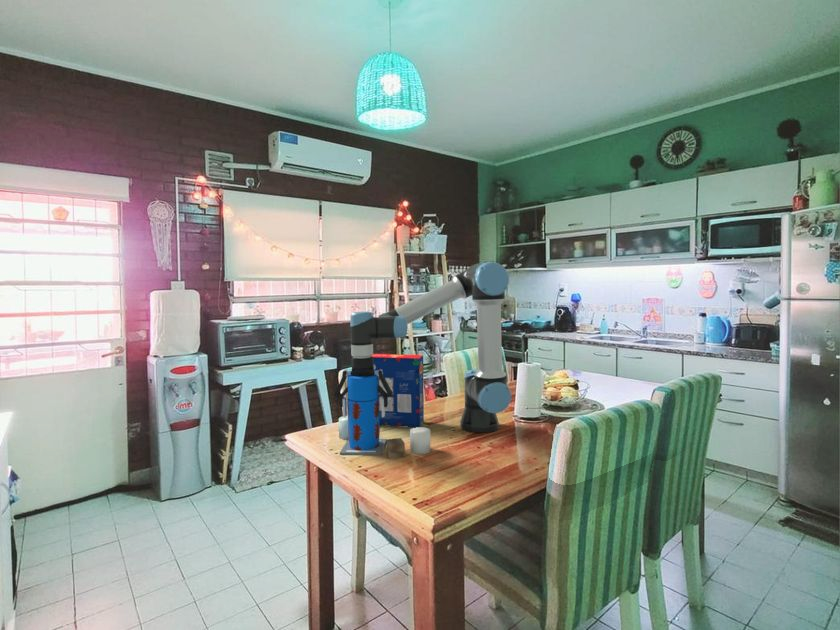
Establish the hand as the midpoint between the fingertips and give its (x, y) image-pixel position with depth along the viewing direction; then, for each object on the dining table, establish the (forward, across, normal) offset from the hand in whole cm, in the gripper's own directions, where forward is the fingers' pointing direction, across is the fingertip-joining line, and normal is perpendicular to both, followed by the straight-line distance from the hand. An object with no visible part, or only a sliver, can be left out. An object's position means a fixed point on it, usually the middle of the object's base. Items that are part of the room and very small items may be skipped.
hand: (364, 416), depth 159 cm
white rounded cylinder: (+11, -20, +2) cm, 23 cm away
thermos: (+11, 0, 0) cm, 11 cm away
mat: (+11, 0, 0) cm, 11 cm away
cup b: (+11, +8, -11) cm, 18 cm away
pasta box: (+11, -5, -28) cm, 31 cm away
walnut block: (+11, -12, +7) cm, 18 cm away
